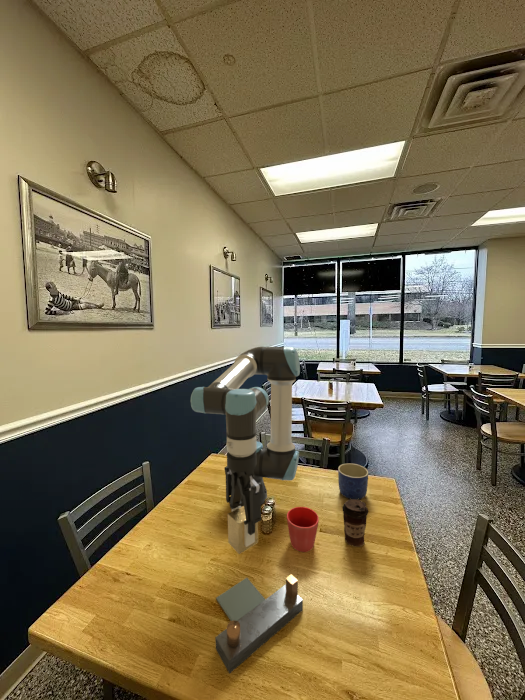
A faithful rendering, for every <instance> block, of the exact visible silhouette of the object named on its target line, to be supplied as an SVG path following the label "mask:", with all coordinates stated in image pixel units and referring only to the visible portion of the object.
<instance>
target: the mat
mask: <svg viewBox="0 0 525 700" xmlns="http://www.w3.org/2000/svg"><path fill="white" fill-rule="evenodd" d="M215 599H216V601H217V603H218V604H219V606H220V608H221V609H222V610H223V612H224V613H225V616H227V618H228V620H229V622H230V621H233V620H235V621H237V620H239V619H240V618H241V617H243V616H244V615H245V614H247V613H248V612H249V611H251V610H252V609H253V608H255V607H256V606H257V605H259V604H260V603H261V602H263V601H264V600H265V599H266V598H265V597H264V596H263V595H262V594H261V592H260V591H259V590H258V589H257V587H256V586H255V585H254V584H253V583H252V581H251V580H250V579H249V578H248V577H245V578H243V580H241V581H239V582H238V583H236V584H234V585H233V586H231V587H230V588H229V589H227V590H225V591H224V592H223V593H221V594H219V595H217V596H216V597H215Z"/></svg>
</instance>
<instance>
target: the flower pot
mask: <svg viewBox="0 0 525 700" xmlns="http://www.w3.org/2000/svg"><path fill="white" fill-rule="evenodd" d="M286 521H287V528H288V535H289V540H290V545H291V547H292V548H293V549H294V550H295V551H298V552H300V553H307V552H310V551H311V550H313V549H314V546H315V543H316V542H315V541H316V537H317V533H318V526H319V523H320V522H319V521H320V518H319V515H318V513H317V512H316V511H315V510H313V509H312V508H309V507H306V506H296V507H292V508H291V509H289V510H288V512H287V513H286Z"/></svg>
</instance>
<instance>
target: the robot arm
mask: <svg viewBox="0 0 525 700" xmlns="http://www.w3.org/2000/svg"><path fill="white" fill-rule="evenodd" d="M300 366H301V365H300V356H299V353H298V351H297V349H296V348H295V347H292V346H291V347H290V346H256V347H253V348H250V349H248V350H246V351H244V352H242V353H240V355H238V356H237V357H236V358H235V359H234V362H233V364H232V365H231V366H229V367H228V368H227V369H226V370H225V371H224V372H223V373H222V374H221V375H220V376H218V378H216V379H215V380H214V381H213V382H212V383H211V384H210V385H208V386H207V387H206V386H198V387H195V388H194V389H193V390H192V393H191V395H190V406H191V409H192V411H194V412H195V413H199V414H200V413H202V414H211V415H212V414H213V415H225V424H226V427H225V428H226V433H225V435H226V443H225V445H226V451H227V453H226V466H224V473H225V502H226V503H229V507H230V509H231V510H230V512H232V511H234V510H236V509H238V508H240V507H242V506H244V510H245V516H246V520H245V521H244V545H245V546H246V547H247V546H249V545H251V544H252V543H254V542H255V523H257V522H258V523H259V522H261V521H262V505H263V504H264V503H265V502H266V501H265V499H266V498H267V499H268V490H267V487H266V485H265V482H264V478H267V479H273V480H279V481H293V480H294V479H295V476H296V474H297V471H298V470H297V469H298V465H299V460H300V459H299V458H300V451H298V450H297V449H296V445H295V444H294V443H293V442H292V432H293V431H292V429H293V427H292V425H293V423H292V421H293V420H292V417H293V413H292V412H293V391H292V390H293V383H295V382H296V380H297V379H296V378H297V377H298V376H300V373H301V367H300ZM254 375H263V376H266V377H267V381H268V382H269V384H270V401H269V395H268V392H267V391H266V390H265V389H264V388H261V387H259V386H254V387H250V388H240V387H242V385H244V383H245V382H246V381H247V379H249V378H251V377H253V376H254ZM269 402H270V441H269V442H268V443H267V444H266V447H264V445H263V443H262V442H260V441H257V419H258V418H259V416H261V415H262V414H263V413H264V412H265V411H266V409H267V407H268V405H269ZM267 499H266V500H267ZM264 501H265V502H264Z"/></svg>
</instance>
